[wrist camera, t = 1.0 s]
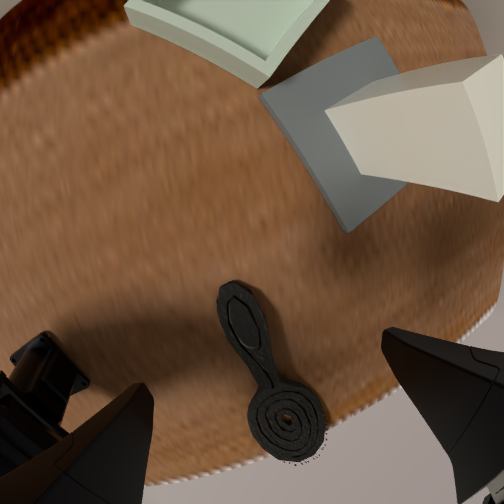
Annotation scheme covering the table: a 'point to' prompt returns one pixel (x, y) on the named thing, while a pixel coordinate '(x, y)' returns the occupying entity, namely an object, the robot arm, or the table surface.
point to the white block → (431, 126)
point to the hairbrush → (270, 394)
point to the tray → (229, 30)
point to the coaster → (333, 128)
